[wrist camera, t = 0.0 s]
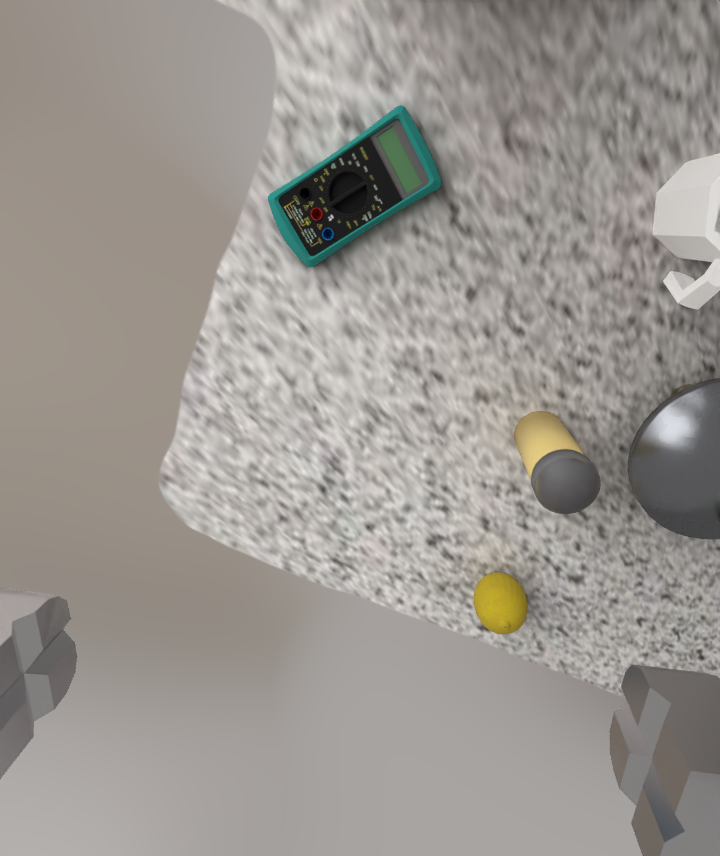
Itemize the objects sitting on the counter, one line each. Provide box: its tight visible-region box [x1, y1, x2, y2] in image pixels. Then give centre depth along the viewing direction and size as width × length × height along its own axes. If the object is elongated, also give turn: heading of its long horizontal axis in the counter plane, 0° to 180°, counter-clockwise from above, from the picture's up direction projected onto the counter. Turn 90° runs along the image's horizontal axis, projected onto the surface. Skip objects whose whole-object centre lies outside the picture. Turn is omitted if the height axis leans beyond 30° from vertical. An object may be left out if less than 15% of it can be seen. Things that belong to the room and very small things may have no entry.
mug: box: [653, 153, 720, 310], centre depth 44 cm, size 12×9×10 cm
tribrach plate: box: [628, 378, 720, 539], centre depth 53 cm, size 16×16×4 cm
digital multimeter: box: [268, 106, 441, 267], centre depth 49 cm, size 7×15×3 cm, turn 120°
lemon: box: [474, 573, 527, 634], centre depth 59 cm, size 6×6×8 cm
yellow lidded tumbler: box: [514, 411, 600, 514], centre depth 51 cm, size 5×5×12 cm
